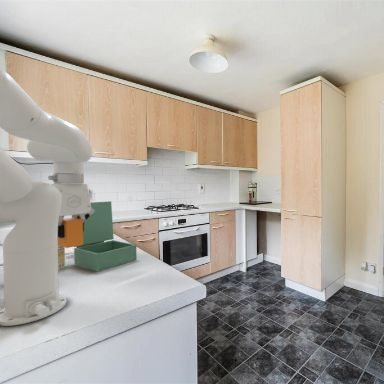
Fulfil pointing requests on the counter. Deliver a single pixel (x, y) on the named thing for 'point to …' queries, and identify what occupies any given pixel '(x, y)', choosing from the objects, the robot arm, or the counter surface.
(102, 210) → the lunchbox lid
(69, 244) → the juice carton
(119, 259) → the lunchbox
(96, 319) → the counter surface
